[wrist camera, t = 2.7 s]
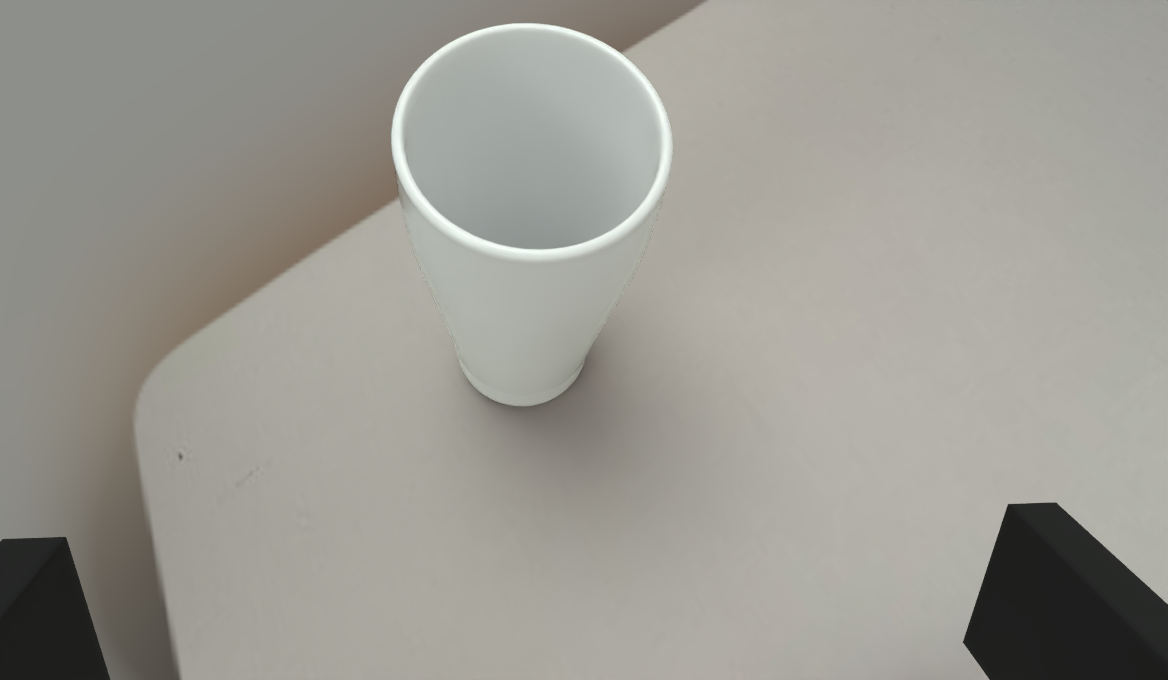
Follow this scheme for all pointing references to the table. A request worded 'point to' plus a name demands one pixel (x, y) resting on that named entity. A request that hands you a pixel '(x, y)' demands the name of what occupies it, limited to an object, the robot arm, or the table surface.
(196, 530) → the table surface
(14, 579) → the robot arm
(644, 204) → the drinking glass
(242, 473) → the table surface
